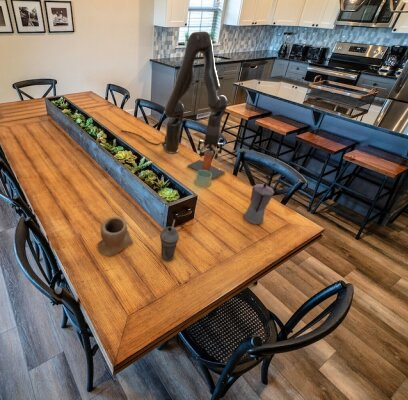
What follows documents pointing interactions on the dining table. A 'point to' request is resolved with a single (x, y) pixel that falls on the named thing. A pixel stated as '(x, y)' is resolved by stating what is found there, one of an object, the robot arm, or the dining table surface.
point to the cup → (203, 178)
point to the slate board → (213, 170)
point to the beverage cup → (169, 242)
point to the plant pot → (207, 160)
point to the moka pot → (258, 203)
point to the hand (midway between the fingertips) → (208, 157)
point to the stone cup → (114, 236)
